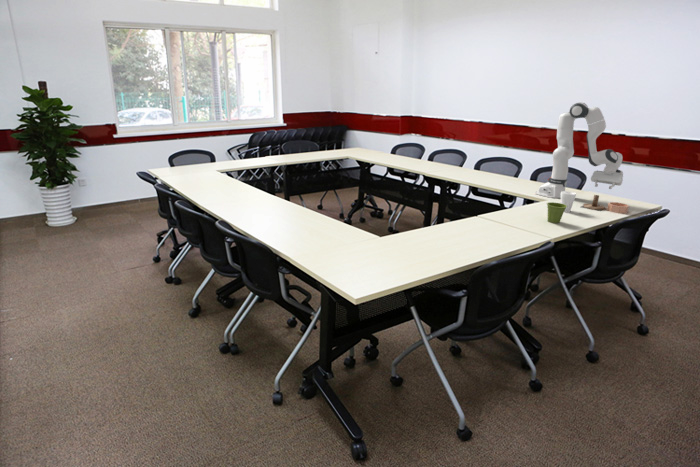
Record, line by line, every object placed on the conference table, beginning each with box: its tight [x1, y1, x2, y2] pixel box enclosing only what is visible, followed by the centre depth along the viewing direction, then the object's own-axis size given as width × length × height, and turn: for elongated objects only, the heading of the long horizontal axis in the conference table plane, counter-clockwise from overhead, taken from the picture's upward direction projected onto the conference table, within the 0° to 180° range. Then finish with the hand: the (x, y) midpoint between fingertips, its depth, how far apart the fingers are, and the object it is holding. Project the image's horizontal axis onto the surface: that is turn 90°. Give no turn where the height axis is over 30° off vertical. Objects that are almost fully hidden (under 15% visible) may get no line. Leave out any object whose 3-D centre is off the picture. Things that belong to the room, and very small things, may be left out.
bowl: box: [606, 201, 630, 214], centre depth 311 cm, size 12×12×5 cm
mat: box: [580, 205, 607, 212], centre depth 318 cm, size 14×14×1 cm
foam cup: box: [559, 190, 577, 213], centre depth 306 cm, size 10×9×13 cm
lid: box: [582, 194, 606, 211], centre depth 317 cm, size 14×14×9 cm
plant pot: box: [546, 201, 567, 224], centre depth 281 cm, size 12×12×11 cm
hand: (602, 187), depth 321 cm, fingers open, 8 cm apart
